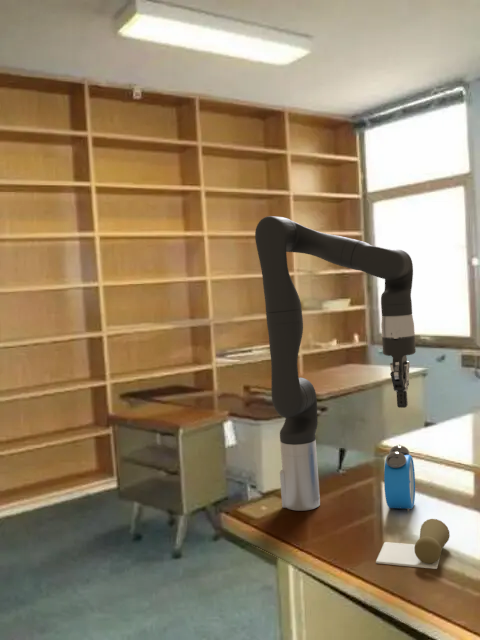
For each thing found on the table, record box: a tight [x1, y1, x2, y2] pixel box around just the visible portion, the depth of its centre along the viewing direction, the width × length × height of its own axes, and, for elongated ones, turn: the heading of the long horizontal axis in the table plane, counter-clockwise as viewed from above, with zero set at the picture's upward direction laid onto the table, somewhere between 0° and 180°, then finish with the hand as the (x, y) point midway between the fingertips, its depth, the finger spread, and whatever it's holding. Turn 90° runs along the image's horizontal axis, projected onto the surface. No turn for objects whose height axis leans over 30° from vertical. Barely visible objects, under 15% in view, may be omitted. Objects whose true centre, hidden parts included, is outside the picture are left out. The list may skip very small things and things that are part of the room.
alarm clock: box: [383, 444, 416, 512], centre depth 163 cm, size 13×6×15 cm, turn 159°
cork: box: [414, 518, 451, 564], centre depth 134 cm, size 6×6×11 cm
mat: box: [375, 541, 443, 570], centre depth 136 cm, size 12×10×1 cm
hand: (402, 406), depth 154 cm, fingers closed
